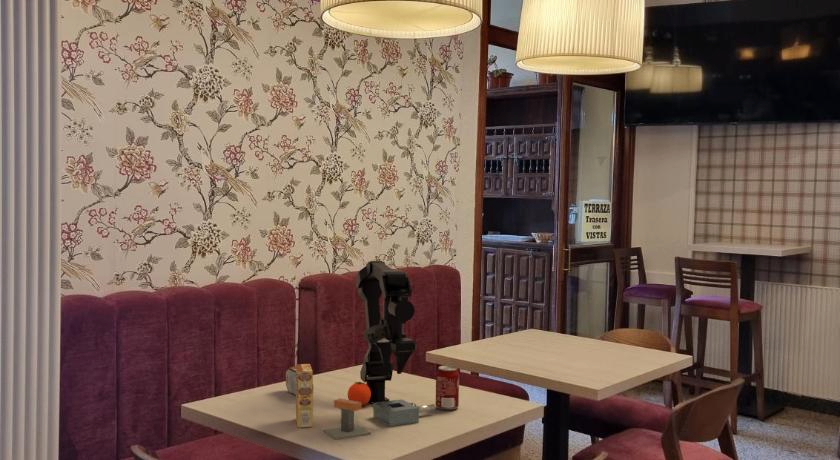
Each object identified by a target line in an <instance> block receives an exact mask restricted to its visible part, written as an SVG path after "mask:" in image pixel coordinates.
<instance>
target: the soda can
mask: <svg viewBox="0 0 840 460" xmlns="http://www.w3.org/2000/svg"><path fill="white" fill-rule="evenodd" d="M459 394H460V373H459V371H458V367H456V366H453V365H440V366H438V370H437V371H436V374H435V408H438V410H442V411H453V410H456V409H458V408H459V403H460V401H459V398H460V397H459V396H460V395H459Z"/></svg>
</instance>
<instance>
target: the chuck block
mask: <svg viewBox="0 0 840 460" xmlns="http://www.w3.org/2000/svg"><path fill="white" fill-rule="evenodd" d="M435 410H436V404H434V403H433V404H425V405H418V406H417V404H416V403H415V402H411V403H410V402H408V401H406V400H404V399H395V400H389V401H385V402H377V403H373V410H372V412H373V418H374V419H376V420H378V421H380V422H381V423H383V424H385V425H386V426H388V427H395V426H402V425H409V424H416V423H419V422H420V415H419V414H420V413H427V412H433V411H435Z"/></svg>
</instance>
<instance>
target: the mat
mask: <svg viewBox="0 0 840 460" xmlns="http://www.w3.org/2000/svg"><path fill="white" fill-rule="evenodd" d="M323 432H324V433H326V434H327V435H328V436H330V437H331V438H333V439H334V440H341V439H347V438H353V437H361V436H367V435H372V432H371V431H370V430H368V429H366V428H365V427H364V426H361V425H360V424H358V423H357V424H354V430H353V431H351V432H349V433H348V432H343V431H341V426H337V427H336V426H335V427H329V428H323Z"/></svg>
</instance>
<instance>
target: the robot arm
mask: <svg viewBox="0 0 840 460" xmlns="http://www.w3.org/2000/svg"><path fill="white" fill-rule="evenodd" d="M355 288H356V289H357V293H358V296H359V297H360V299H361V300H362V302H363V303H364V311H365V323H366V324H365V325H366V329H365V330H362V333H363V336H364V337H363V338H364V340H365V342H366V343H367V345H368V347H367V351H366V353H365V356H364V357H363V363H362V366H361V368H360V372H359V373H360V380H361V382H362V383H365V384H366V385H368V387H369V388H370V390H371V398H370V400H369V402H368V403H369V404H374V403H377V402H385V401H390V398H388V397H386V382H387V381H389V382H390V381H392V379H393V372H394V367H395V368H396V369H395V371H396V374H398V375H400V374H402V373H403V371H404V370H405V369H404V368H405V366H406V365H407V362H408V360H409V359H410V357H411V355H412V354H413V353H414V352H415V351H417V342H416V341H415V340H414V339H412V338H410V337H406V335H407V334H406V333H404V324H407V322H409V321H410V320H411V319H413V317H414V315H415V307H414V304H413V303H412V302H411V301H409V298H410V297H411V298H412V295H413V287H412V285H411V280H410V279H409V276H408V274H407V273H406V271H404V270H394V269H392V268H391V267H390V266H388V265H387V264H386V263H385V261H382V260H370V261H367V263H366V265H365V266H364V267H362V269H360V270H359V271H358V273H357V275H356V278H355ZM382 295H383V303H382V304H383V305H382V306H383V308H382V309H383V310H382V311H383V313H381V309H380V308H381V306H380V304H381V303H380V299H381V297H382ZM381 314H383V315H381ZM382 316H383V317H382ZM392 355H394V357H395V359H394V361H395V366H394V365H393V362H392V360H391V356H392Z"/></svg>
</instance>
